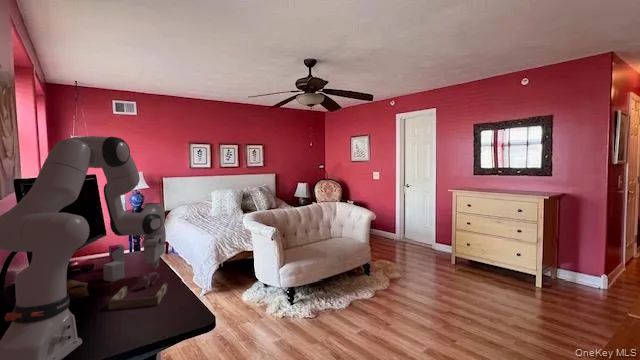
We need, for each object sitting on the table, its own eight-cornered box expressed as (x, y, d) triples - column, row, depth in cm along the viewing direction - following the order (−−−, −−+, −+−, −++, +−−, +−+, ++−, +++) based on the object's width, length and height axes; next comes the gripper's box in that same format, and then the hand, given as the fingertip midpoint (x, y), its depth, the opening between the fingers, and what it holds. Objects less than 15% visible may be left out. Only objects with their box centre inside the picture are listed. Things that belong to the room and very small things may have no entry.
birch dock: (157, 305, 123) (157, 297, 123) (108, 309, 119) (108, 301, 119) (167, 290, 138) (167, 283, 138) (124, 293, 134) (123, 286, 134)
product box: (115, 276, 156) (115, 260, 156) (125, 277, 154) (124, 262, 154) (103, 280, 150) (102, 264, 150) (112, 282, 148) (112, 265, 148)
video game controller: (141, 294, 138) (147, 279, 137) (133, 288, 139) (139, 274, 138) (157, 285, 148) (163, 272, 147) (149, 280, 148) (155, 267, 147)
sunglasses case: (90, 295, 133) (79, 283, 130) (72, 308, 129) (60, 295, 127) (88, 282, 147) (78, 271, 145) (71, 294, 143) (61, 282, 141)
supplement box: (122, 265, 173) (121, 243, 172) (125, 268, 168) (124, 245, 168) (109, 267, 169) (108, 245, 168) (111, 270, 164) (111, 247, 164)
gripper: (153, 233, 160) (154, 261, 161) (140, 243, 140) (141, 275, 141) (167, 232, 162) (168, 260, 162) (156, 242, 142) (157, 274, 142)
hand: (156, 267), depth 152 cm, fingers closed
